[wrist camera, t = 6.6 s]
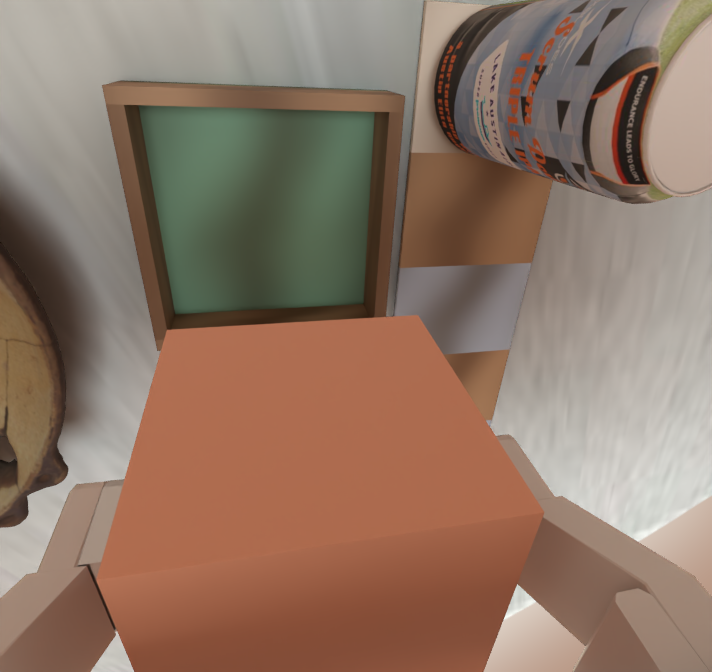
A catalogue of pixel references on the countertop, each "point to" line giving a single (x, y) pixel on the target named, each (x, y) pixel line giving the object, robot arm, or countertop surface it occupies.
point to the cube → (314, 507)
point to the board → (464, 232)
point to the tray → (258, 200)
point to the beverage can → (586, 93)
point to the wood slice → (28, 394)
